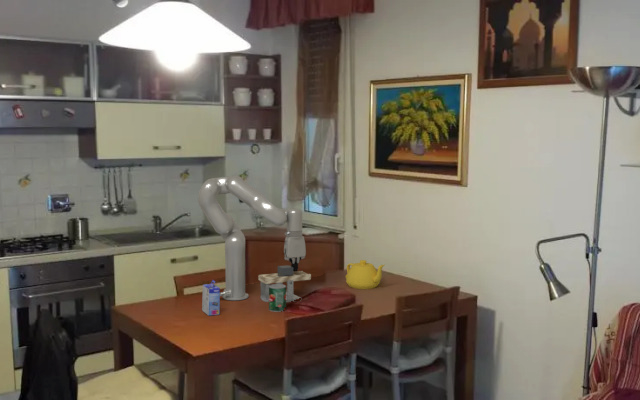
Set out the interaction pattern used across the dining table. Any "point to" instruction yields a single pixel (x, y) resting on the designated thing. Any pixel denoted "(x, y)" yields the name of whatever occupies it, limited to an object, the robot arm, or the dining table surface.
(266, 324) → the dining table surface
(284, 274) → the block
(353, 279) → the teapot
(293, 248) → the robot arm
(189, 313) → the dining table surface
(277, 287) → the canned tomato
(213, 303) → the ink cartridge box
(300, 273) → the balance beam
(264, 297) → the beam stand
